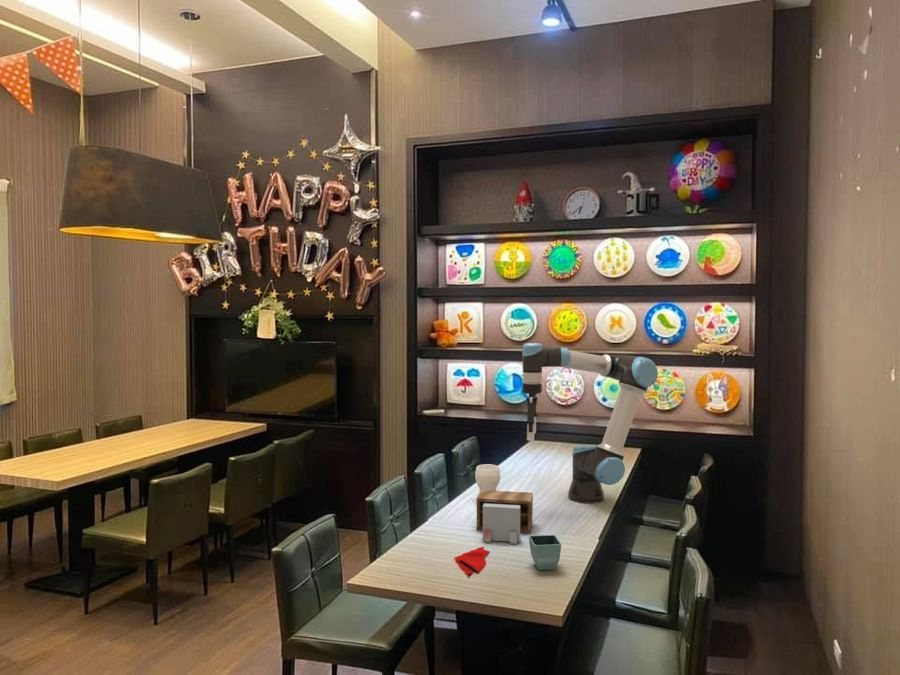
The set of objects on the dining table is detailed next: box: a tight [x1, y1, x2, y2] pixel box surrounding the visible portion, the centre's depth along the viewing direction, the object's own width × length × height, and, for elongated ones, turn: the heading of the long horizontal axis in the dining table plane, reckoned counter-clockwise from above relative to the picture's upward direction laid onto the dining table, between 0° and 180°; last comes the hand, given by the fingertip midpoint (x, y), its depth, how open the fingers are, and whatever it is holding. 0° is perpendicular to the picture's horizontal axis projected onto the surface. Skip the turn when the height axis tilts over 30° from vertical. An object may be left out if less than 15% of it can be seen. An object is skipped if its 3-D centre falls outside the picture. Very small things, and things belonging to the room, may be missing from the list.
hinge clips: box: [483, 529, 518, 546], centre depth 236 cm, size 11×12×4 cm
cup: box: [474, 463, 501, 492], centre depth 277 cm, size 11×11×15 cm
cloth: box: [453, 546, 491, 579], centre depth 215 cm, size 26×14×2 cm, turn 155°
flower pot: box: [528, 534, 562, 571], centre depth 210 cm, size 9×9×9 cm
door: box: [482, 503, 521, 543], centre depth 234 cm, size 13×4×12 cm, turn 80°
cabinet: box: [476, 490, 534, 534], centre depth 247 cm, size 20×11×12 cm, turn 80°
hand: (531, 436), depth 257 cm, fingers open, 13 cm apart
